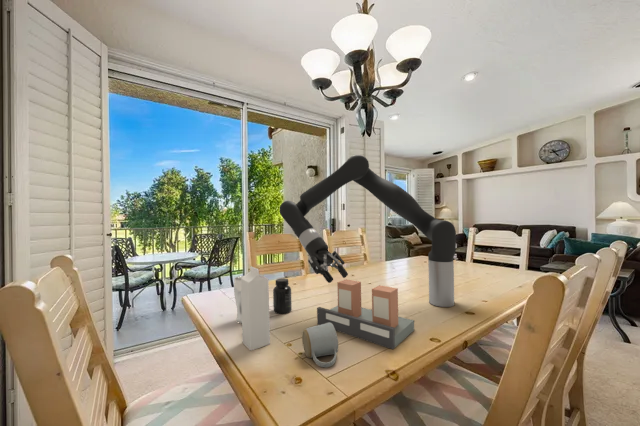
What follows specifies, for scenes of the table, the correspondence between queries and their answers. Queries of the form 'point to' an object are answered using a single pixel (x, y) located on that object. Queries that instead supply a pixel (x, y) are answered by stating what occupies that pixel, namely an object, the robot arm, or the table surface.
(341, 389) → the table surface
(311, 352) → the ceramic mug
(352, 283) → the tea box
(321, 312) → the display shelf
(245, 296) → the milk
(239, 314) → the beer glass
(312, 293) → the table surface
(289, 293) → the supplement bottle
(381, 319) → the tea box
